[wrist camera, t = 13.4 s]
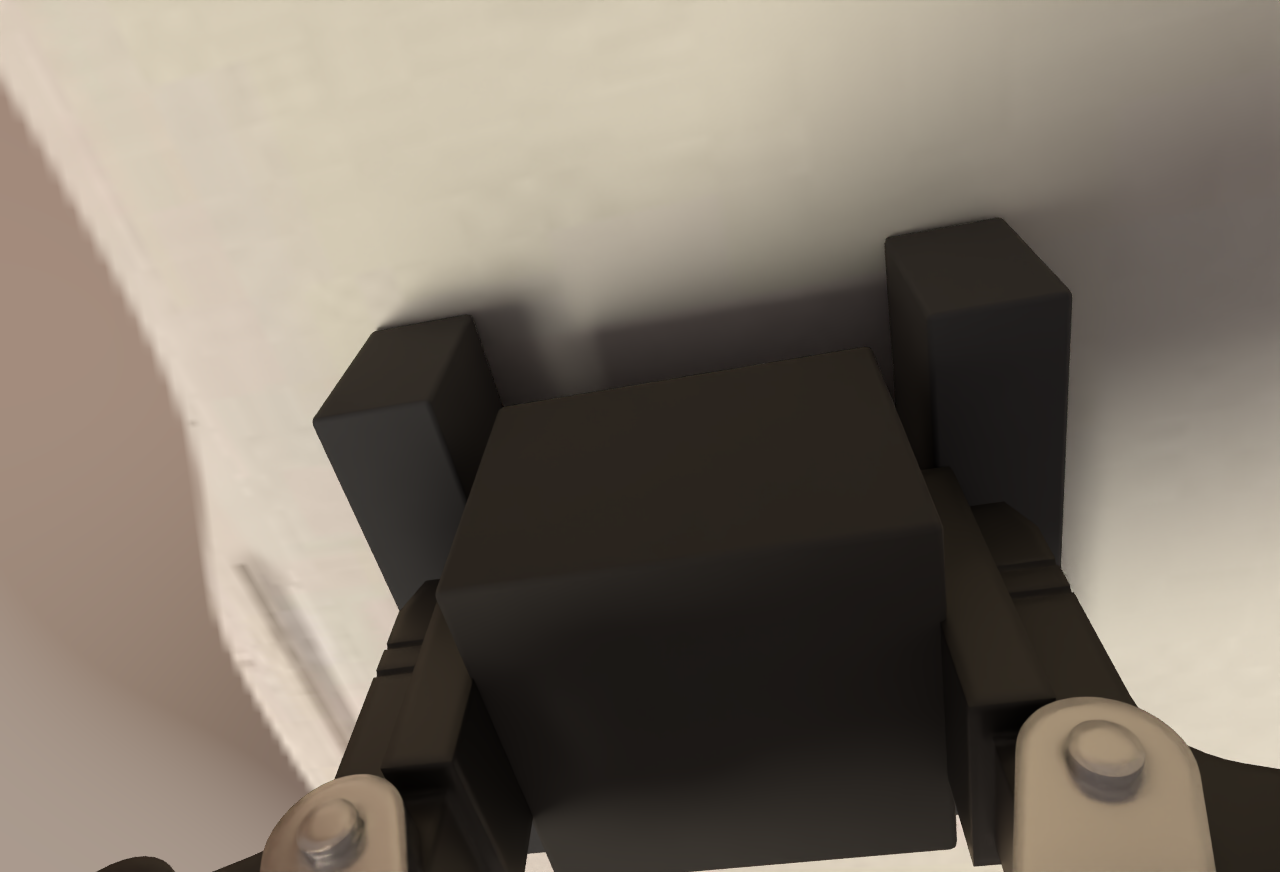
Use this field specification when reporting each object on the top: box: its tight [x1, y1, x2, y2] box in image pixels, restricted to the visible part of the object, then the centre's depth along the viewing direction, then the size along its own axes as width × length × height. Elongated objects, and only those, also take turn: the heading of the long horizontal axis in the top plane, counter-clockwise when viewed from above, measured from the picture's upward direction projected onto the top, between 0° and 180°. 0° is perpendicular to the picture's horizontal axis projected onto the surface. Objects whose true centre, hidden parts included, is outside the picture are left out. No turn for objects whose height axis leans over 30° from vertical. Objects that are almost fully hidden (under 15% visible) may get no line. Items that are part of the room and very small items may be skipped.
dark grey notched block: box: [313, 218, 1072, 854], centre depth 13 cm, size 9×9×2 cm
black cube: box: [436, 347, 957, 872], centre depth 11 cm, size 5×5×4 cm
